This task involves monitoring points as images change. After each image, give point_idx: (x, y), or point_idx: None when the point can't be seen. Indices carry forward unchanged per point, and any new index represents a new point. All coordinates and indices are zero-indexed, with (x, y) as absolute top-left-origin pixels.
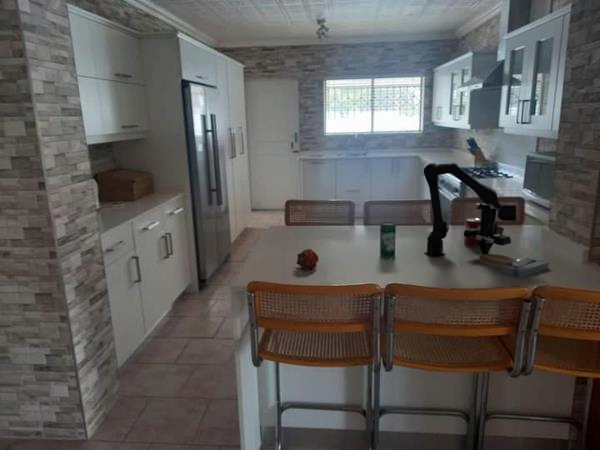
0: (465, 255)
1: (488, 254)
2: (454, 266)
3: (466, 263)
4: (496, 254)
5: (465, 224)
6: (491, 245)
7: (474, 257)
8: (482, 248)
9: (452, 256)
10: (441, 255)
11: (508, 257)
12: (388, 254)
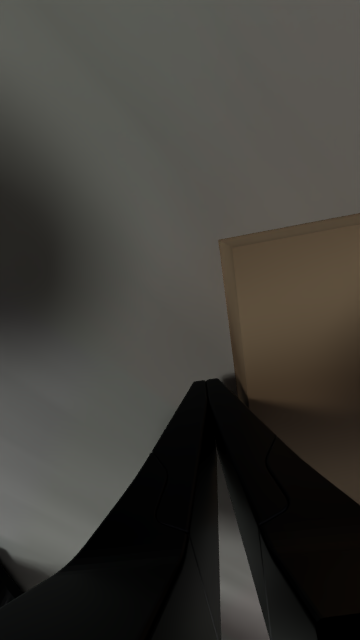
0: (43, 448)
1: (284, 433)
2: (234, 611)
3: (226, 547)
4: (354, 343)
5: None
6: (358, 532)
7: (126, 424)
8: (217, 546)
9: (40, 529)
10: (8, 575)
11: None
12: None
